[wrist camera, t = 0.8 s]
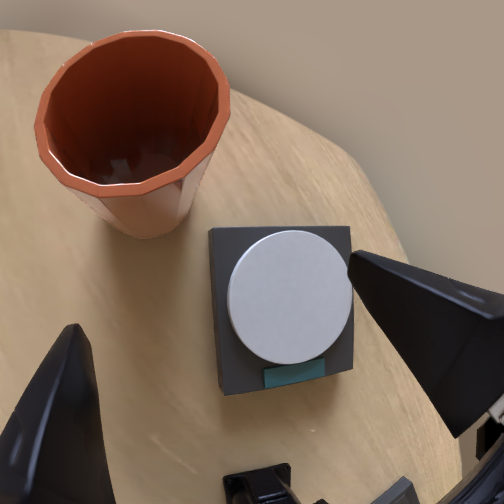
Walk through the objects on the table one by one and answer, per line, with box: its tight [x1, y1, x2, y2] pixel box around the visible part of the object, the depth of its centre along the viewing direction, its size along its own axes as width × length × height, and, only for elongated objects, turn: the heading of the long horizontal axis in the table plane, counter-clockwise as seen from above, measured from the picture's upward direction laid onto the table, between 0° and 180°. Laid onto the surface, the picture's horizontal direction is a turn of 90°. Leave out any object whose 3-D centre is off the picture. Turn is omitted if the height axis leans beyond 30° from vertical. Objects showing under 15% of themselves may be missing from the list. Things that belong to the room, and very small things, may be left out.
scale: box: [208, 226, 354, 396], centre depth 21 cm, size 12×11×3 cm
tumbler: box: [34, 30, 230, 239], centre depth 14 cm, size 7×7×13 cm
